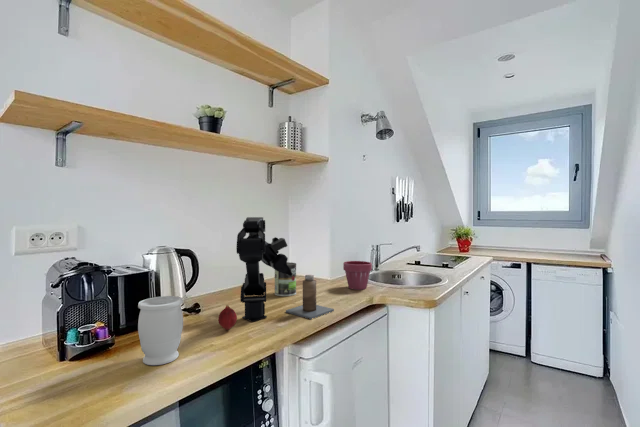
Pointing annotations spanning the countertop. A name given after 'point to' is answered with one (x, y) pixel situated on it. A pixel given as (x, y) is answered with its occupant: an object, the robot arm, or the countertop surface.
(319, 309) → the slate board
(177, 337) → the jar
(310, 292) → the pepper mill
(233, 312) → the onion
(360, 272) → the plant pot
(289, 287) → the coffee can
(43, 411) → the countertop surface
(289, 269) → the robot arm
